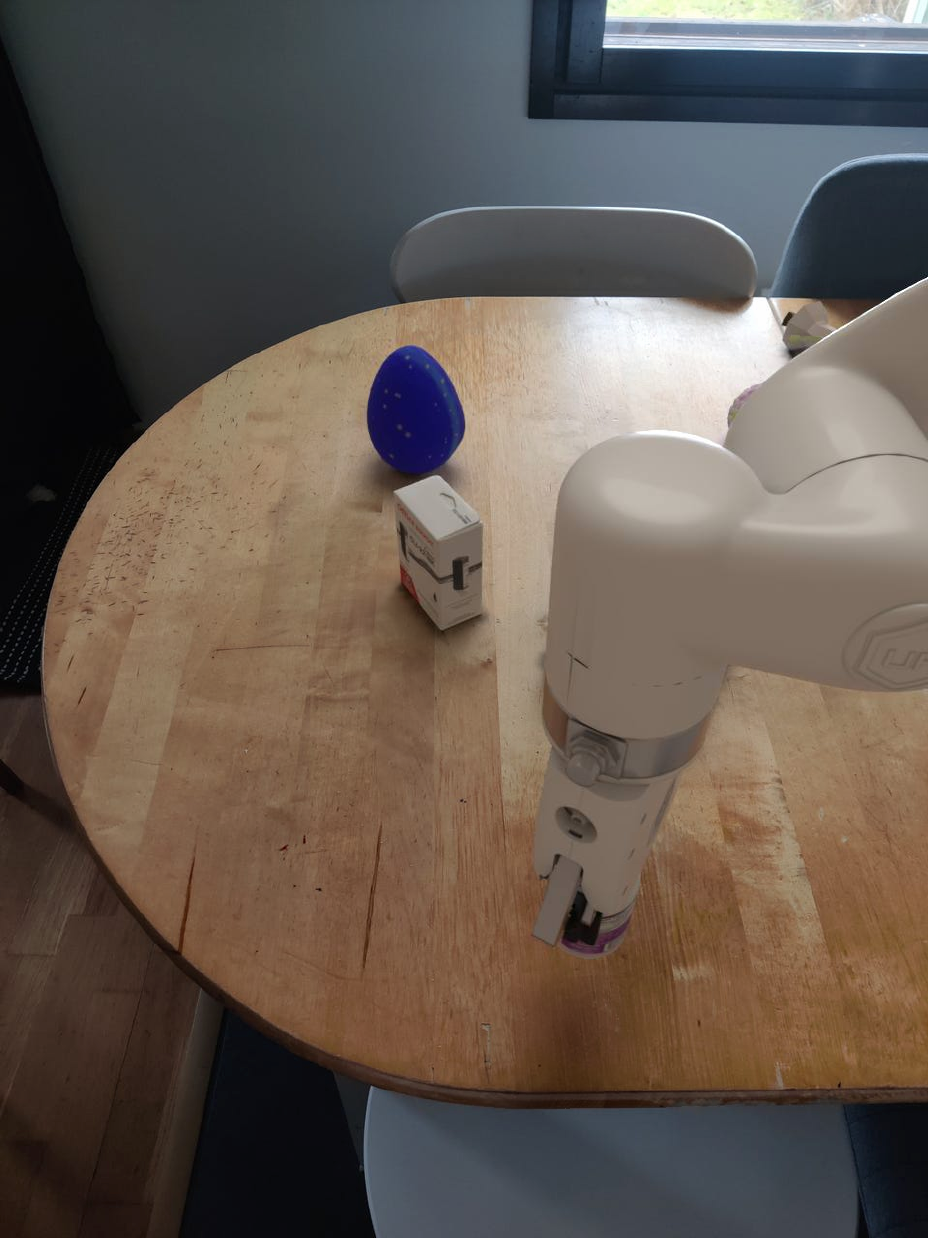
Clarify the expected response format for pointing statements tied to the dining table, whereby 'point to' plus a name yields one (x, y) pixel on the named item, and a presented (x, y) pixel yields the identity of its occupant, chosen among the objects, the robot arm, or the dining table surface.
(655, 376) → the dining table surface
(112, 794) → the dining table surface
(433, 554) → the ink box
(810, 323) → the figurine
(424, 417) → the ornament
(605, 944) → the pill bottle
